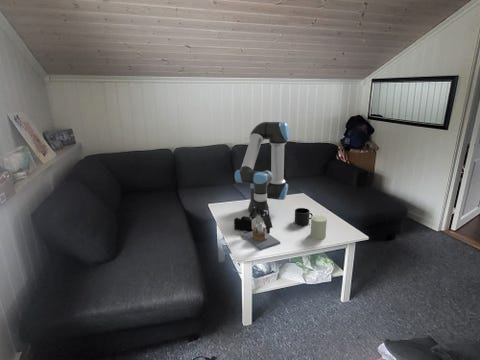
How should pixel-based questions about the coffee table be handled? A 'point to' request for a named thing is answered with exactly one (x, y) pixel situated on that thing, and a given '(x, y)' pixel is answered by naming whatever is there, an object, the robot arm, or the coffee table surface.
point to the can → (318, 227)
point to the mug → (302, 216)
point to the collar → (259, 235)
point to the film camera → (243, 224)
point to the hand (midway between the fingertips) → (260, 233)
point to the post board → (260, 244)
